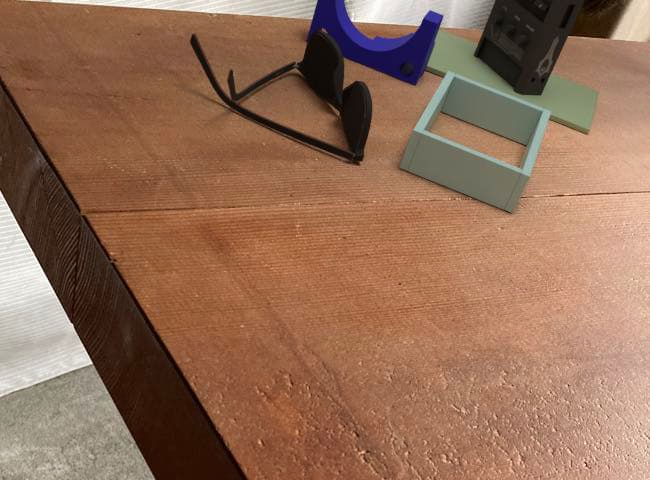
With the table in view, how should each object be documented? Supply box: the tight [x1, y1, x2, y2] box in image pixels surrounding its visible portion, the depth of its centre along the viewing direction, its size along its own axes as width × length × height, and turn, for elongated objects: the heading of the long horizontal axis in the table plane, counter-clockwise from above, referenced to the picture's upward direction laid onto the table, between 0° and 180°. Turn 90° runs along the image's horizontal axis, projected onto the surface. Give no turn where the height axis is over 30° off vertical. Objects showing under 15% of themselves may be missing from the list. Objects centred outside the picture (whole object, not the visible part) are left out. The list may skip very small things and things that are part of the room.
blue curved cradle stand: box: [305, 0, 445, 86], centre depth 99 cm, size 12×4×6 cm, turn 69°
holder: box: [398, 71, 551, 214], centre depth 89 cm, size 11×16×4 cm, turn 160°
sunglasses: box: [189, 30, 373, 162], centre depth 85 cm, size 17×14×5 cm
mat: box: [425, 28, 600, 135], centre depth 106 cm, size 20×12×1 cm, turn 70°
